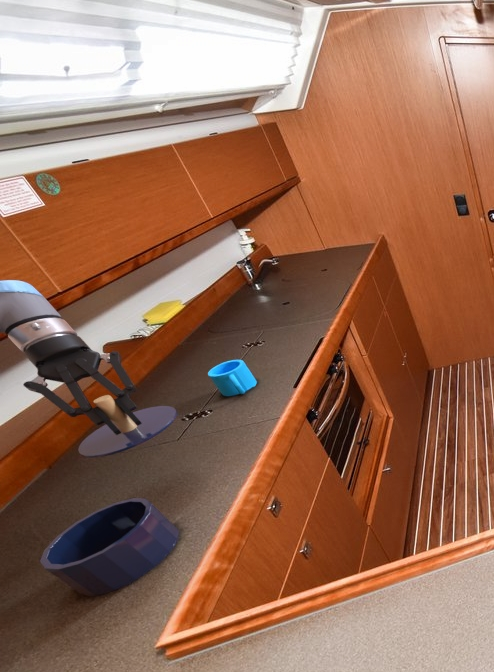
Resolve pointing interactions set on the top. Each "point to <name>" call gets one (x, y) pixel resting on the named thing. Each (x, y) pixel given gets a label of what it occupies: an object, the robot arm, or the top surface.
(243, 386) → the mug
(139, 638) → the top surface
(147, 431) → the lid
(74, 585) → the pot
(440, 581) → the top surface
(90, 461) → the top surface
